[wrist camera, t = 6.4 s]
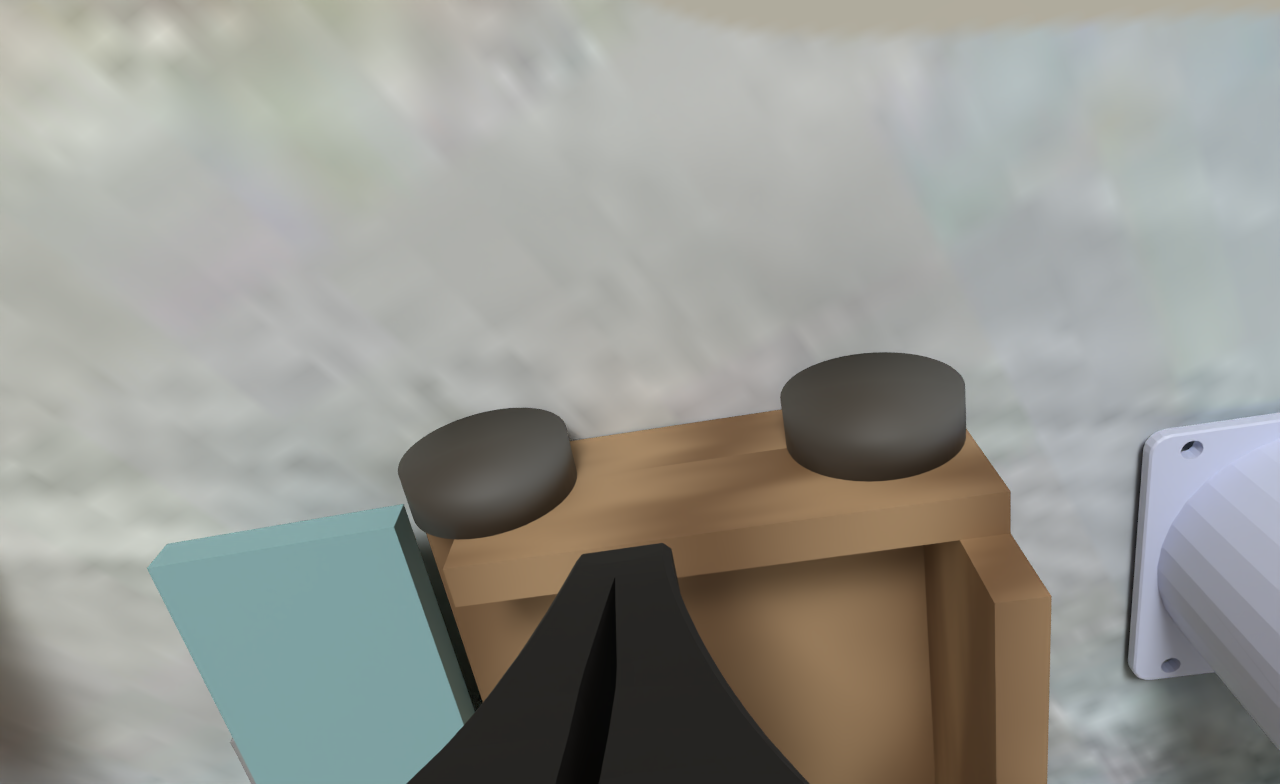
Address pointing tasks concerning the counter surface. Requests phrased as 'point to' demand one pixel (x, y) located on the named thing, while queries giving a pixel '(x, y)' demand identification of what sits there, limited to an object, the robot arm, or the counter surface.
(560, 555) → the cart
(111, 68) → the counter surface
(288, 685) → the tailgate
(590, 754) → the robot arm
